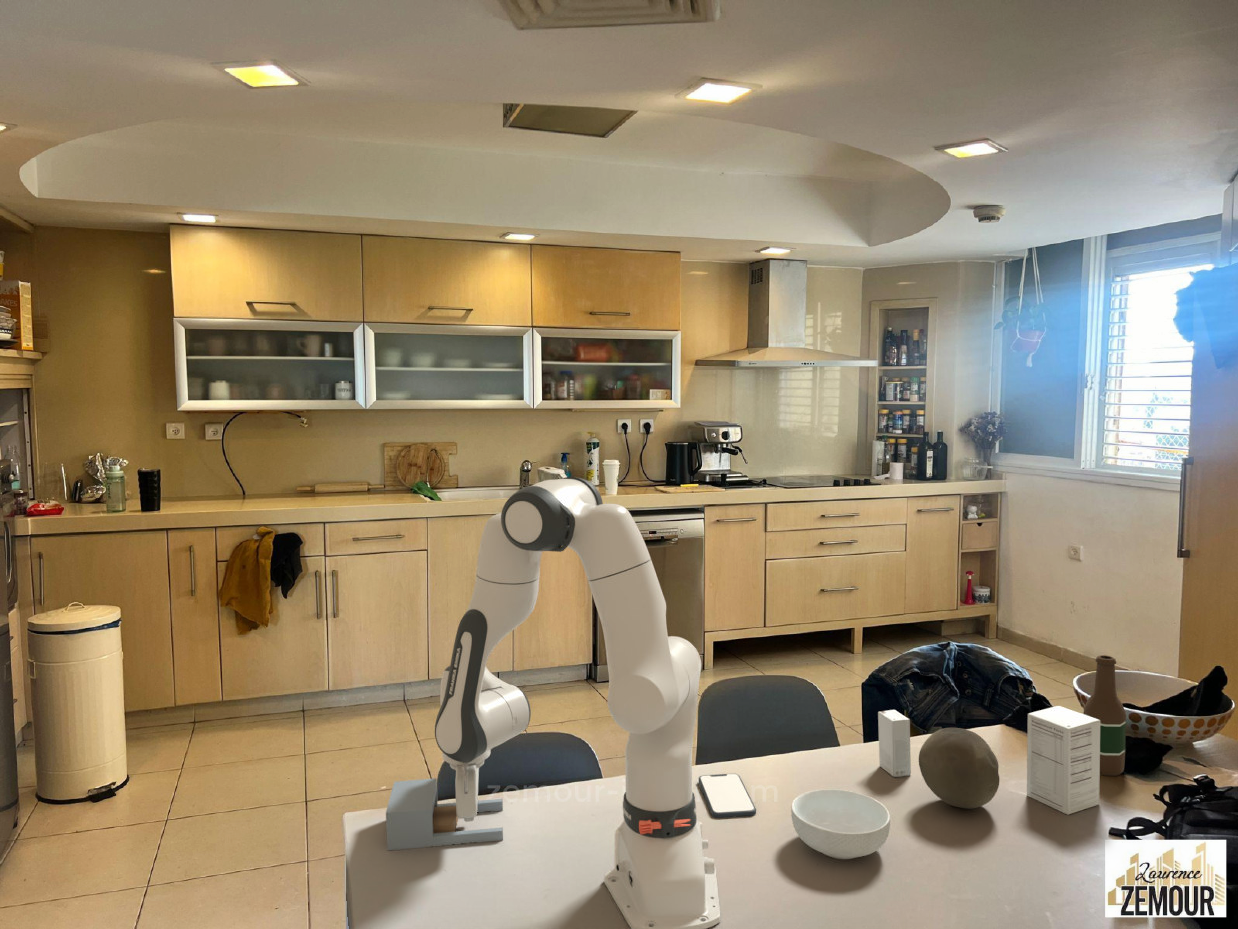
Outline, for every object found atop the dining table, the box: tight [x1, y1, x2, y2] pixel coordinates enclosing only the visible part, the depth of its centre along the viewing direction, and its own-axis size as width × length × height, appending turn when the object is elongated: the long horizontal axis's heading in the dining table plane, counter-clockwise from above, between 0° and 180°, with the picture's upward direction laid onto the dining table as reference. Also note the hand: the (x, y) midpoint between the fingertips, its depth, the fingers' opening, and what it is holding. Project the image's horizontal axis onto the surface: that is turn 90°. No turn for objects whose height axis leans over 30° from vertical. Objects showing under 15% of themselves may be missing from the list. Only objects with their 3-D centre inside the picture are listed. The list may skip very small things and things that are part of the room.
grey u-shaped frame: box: [385, 777, 504, 851], centre depth 161 cm, size 12×20×7 cm, turn 98°
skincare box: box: [877, 709, 912, 778], centre depth 181 cm, size 6×4×12 cm
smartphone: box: [698, 773, 757, 819], centre depth 171 cm, size 9×2×16 cm
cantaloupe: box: [918, 727, 1000, 810], centre depth 165 cm, size 14×14×15 cm
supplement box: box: [1026, 705, 1101, 816], centre depth 167 cm, size 10×9×17 cm
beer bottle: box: [1082, 655, 1127, 777], centre depth 180 cm, size 8×8×24 cm
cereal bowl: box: [790, 788, 891, 860], centre depth 152 cm, size 17×17×7 cm
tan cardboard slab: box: [433, 806, 459, 833], centre depth 161 cm, size 7×10×3 cm
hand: (469, 818), depth 162 cm, fingers closed
